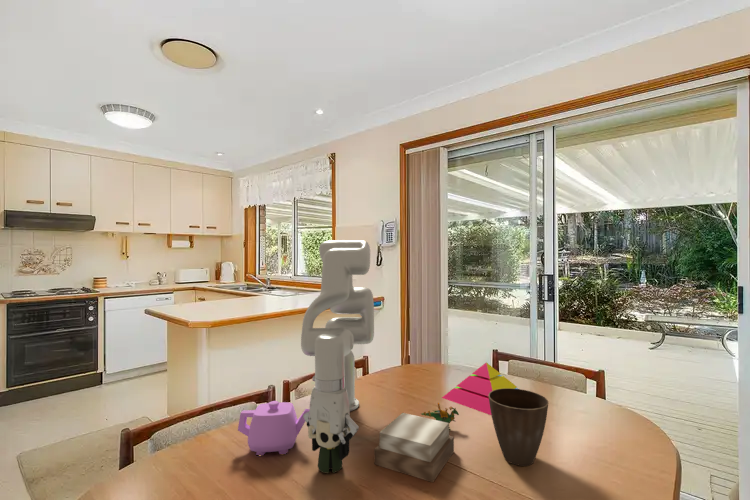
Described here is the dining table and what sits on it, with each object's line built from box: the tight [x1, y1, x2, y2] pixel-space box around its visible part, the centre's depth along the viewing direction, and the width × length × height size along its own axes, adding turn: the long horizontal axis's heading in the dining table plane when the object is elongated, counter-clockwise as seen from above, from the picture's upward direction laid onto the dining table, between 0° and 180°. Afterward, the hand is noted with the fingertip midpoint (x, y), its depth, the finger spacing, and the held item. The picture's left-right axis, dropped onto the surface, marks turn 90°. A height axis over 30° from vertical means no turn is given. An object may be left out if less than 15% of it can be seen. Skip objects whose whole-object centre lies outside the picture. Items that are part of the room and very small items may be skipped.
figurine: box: [420, 402, 460, 431], centre depth 117 cm, size 3×12×8 cm, turn 92°
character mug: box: [307, 420, 351, 474], centre depth 96 cm, size 11×7×13 cm, turn 99°
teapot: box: [237, 400, 309, 457], centre depth 107 cm, size 20×12×13 cm, turn 96°
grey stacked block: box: [373, 412, 455, 483], centre depth 101 cm, size 16×16×8 cm
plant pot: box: [488, 388, 549, 467], centre depth 100 cm, size 15×15×16 cm
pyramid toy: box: [441, 361, 519, 416], centre depth 142 cm, size 25×25×14 cm
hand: (330, 452), depth 96 cm, fingers closed on character mug, 7 cm apart
